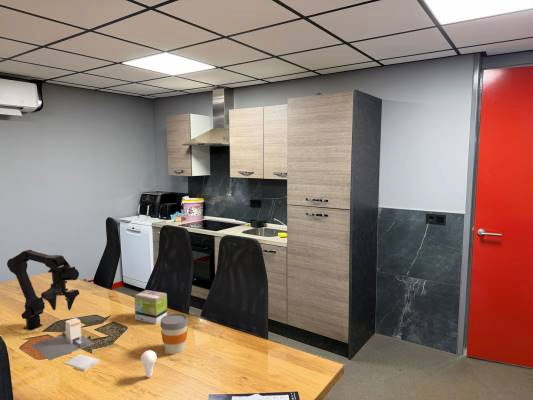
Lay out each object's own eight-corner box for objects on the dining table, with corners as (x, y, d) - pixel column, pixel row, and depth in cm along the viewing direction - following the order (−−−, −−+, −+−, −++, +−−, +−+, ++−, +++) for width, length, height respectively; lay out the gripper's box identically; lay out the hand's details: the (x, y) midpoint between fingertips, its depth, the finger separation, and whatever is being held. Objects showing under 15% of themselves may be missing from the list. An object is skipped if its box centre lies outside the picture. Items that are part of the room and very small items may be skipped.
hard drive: (63, 362, 160) (84, 368, 155) (80, 353, 167) (100, 359, 162) (64, 366, 160) (84, 372, 155) (80, 357, 167) (100, 362, 162)
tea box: (134, 320, 206) (133, 294, 204) (146, 313, 215) (145, 289, 213) (156, 324, 200) (155, 298, 198) (168, 317, 209) (167, 292, 208)
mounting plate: (31, 346, 176) (31, 344, 176) (74, 331, 192) (74, 330, 192) (49, 361, 162) (49, 360, 162) (94, 344, 178) (94, 343, 178)
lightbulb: (143, 373, 153) (142, 347, 152) (158, 372, 154) (157, 347, 153) (139, 381, 147) (138, 355, 146) (155, 380, 148) (154, 354, 147)
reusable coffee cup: (193, 345, 177) (192, 315, 176) (179, 358, 165) (178, 326, 164) (171, 341, 181) (170, 311, 180) (155, 353, 169) (154, 322, 168)
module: (66, 340, 180) (65, 321, 179) (76, 337, 184) (76, 317, 183) (71, 344, 177) (70, 324, 176) (81, 340, 181) (80, 320, 180)
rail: (62, 335, 186) (62, 332, 186) (68, 333, 188) (68, 330, 188) (80, 347, 173) (79, 344, 173) (86, 345, 176) (86, 341, 175)
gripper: (30, 285, 184) (34, 315, 185) (62, 284, 180) (65, 315, 181) (48, 279, 195) (51, 308, 196) (78, 278, 191) (81, 307, 192)
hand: (61, 310), depth 191 cm, fingers open, 9 cm apart
